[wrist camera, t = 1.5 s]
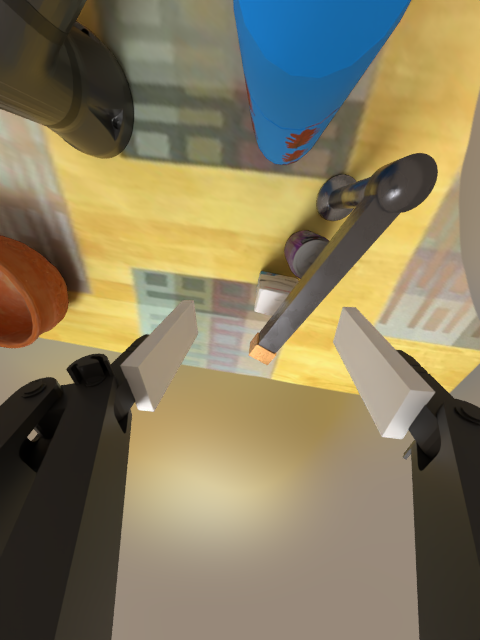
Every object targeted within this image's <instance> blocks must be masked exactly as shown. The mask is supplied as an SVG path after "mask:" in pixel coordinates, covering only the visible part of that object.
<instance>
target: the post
mask: <svg viewBox="0 0 480 640" xmlns="http://www.w3.org/2000/svg"><path fill="white" fill-rule="evenodd" d="M370 178H371V177H369V178H366V179H363V180H360V181H358V182H356V180H355V179H354V178H353V177H351V176H349V175H338V176H335V177H333V178H331V179H329V180H328V181H327V182H326V183H325V184H324V185H323V186H322V187H321V189H320V191H319V193H318V196H317V200H316V206H317V210H318V213H319V214H320V216H321V217H323V218H324V219H326V220H330V221H336V220H340V219H343V218H344V217H346V216H347V215H349V214H350V213H351V212H352V210H353V209H354V208H356V206H357V205H358V204H359V203H360V201H361V200H362V199H363V197H364V192H365V188H366V185H367V183H368V181H369V179H370Z"/></svg>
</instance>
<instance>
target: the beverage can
mask: <svg viewBox="0 0 480 640" xmlns="http://www.w3.org/2000/svg"><path fill="white" fill-rule="evenodd" d="M329 242H330V241H329V240H328V239H326V238H325V237H322V236H320V235H318V234H315V233H313V232H311V231H306V230H303V231H299V232H296V233H295V234H293V235H292V236H291V237H290V238H289V239H288V241H287V242H286V245H285V249H284V253H285V257H286V260H287V262H288V264H289V267H290V269H291V271H292V272H293V274H294V275H295V276H297V277H298V278H300V279H301V278H302V277H303V275H304V274H305V273H306V272H307V270H308V269H309V268H310V266H311V265H312V264H313V262H314V261H315V260H316V259H317V257H318V256H319V255H320V253H321V252H322V251H323V249H324V248H325V247H326V245H327V244H328V243H329Z"/></svg>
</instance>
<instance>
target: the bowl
mask: <svg viewBox="0 0 480 640" xmlns="http://www.w3.org/2000/svg"><path fill="white" fill-rule="evenodd" d="M68 303H69V302H68V293H67V286H66V284H65V281H64V279H63V277H62V276H61V274H60V273H59V271H58V270H57V269H56V267H55V266H53V265H52V264H51V263H50V262H48V261H47V260H46V259H45V257H43V256H42V255H41V254H40V253H38V252H37V251H35V250H34V249H32V248H29V247H28V246H27V245H26V244H24V243H22V242H19V241H17V240H14V239H11V238H7V237H5V236H0V347H6V348H20V347H25V346H28V345H30V344H32V343H33V342H34V341H35V340H36V339H37V338H38V337H39V335H41V334H42V333H44V332H47V331H49V330H51V329H52V328H54V327H55V326H56V325H57V324H58V323H59V322H60V321H61V320H62V319H63V318H64V316H65V315H66V312H67V309H68Z"/></svg>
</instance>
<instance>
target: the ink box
mask: <svg viewBox="0 0 480 640" xmlns="http://www.w3.org/2000/svg"><path fill="white" fill-rule="evenodd" d="M297 283H298V279H297V278H293V277H288V276H283V275H279V274H274V273H269V272H264V271H261V272H260V276H259V280H258V285H257V291H256V300H255V310H254V311H255V312H259V313H263V314H267V315H272V316H273V315H274V313H275V312H276V311H277V309H278V308H279V307H280V305H281V304H282V303H283V302H284V300H285V299H286V298H287V296H288V295H289V294H290V292H291V291H292V290H293V288H294V287H295V286H296V285H297Z"/></svg>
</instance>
